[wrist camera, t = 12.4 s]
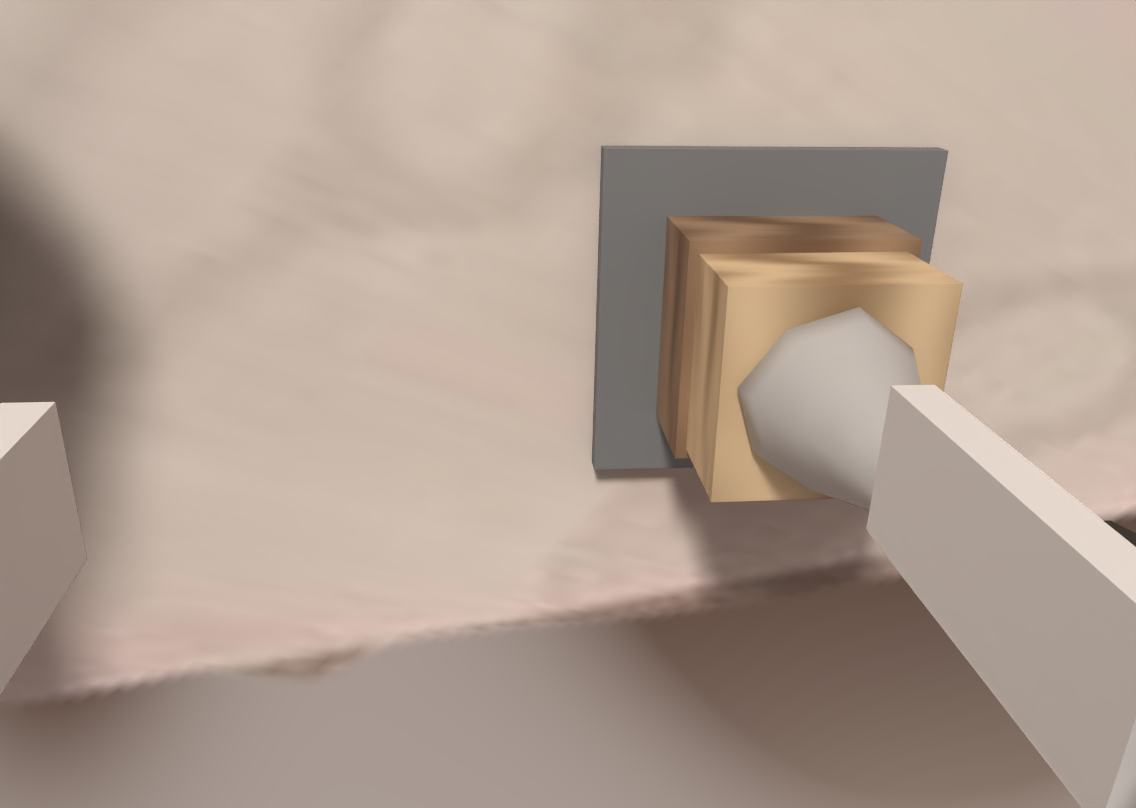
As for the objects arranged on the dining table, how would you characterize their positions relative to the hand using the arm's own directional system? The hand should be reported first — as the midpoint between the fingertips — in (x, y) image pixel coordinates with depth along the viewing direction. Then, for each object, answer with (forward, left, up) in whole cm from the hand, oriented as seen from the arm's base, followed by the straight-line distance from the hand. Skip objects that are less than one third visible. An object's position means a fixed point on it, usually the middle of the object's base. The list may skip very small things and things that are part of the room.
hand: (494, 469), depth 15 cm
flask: (+13, -7, -20) cm, 25 cm away
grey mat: (+13, -7, -31) cm, 34 cm away
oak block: (+13, -7, -25) cm, 29 cm away
